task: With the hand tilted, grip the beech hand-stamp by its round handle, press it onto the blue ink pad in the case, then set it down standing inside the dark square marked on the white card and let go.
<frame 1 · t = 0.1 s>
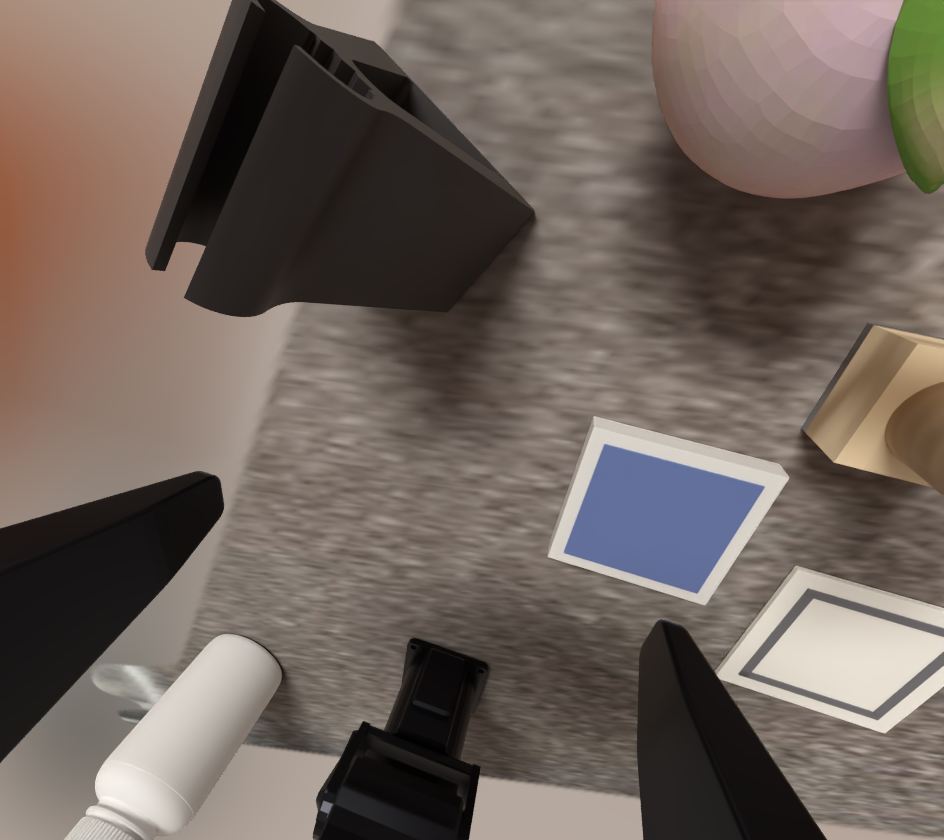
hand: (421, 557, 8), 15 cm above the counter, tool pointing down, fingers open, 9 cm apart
stamp: (895, 393, 18), on the counter
decorative fruit: (763, 61, 15), on the counter
phone stand: (419, 192, 19), on the counter
ink pad: (650, 508, 23), on the counter
card: (841, 652, 24), on the counter
pill bottle: (250, 656, 42), on the counter
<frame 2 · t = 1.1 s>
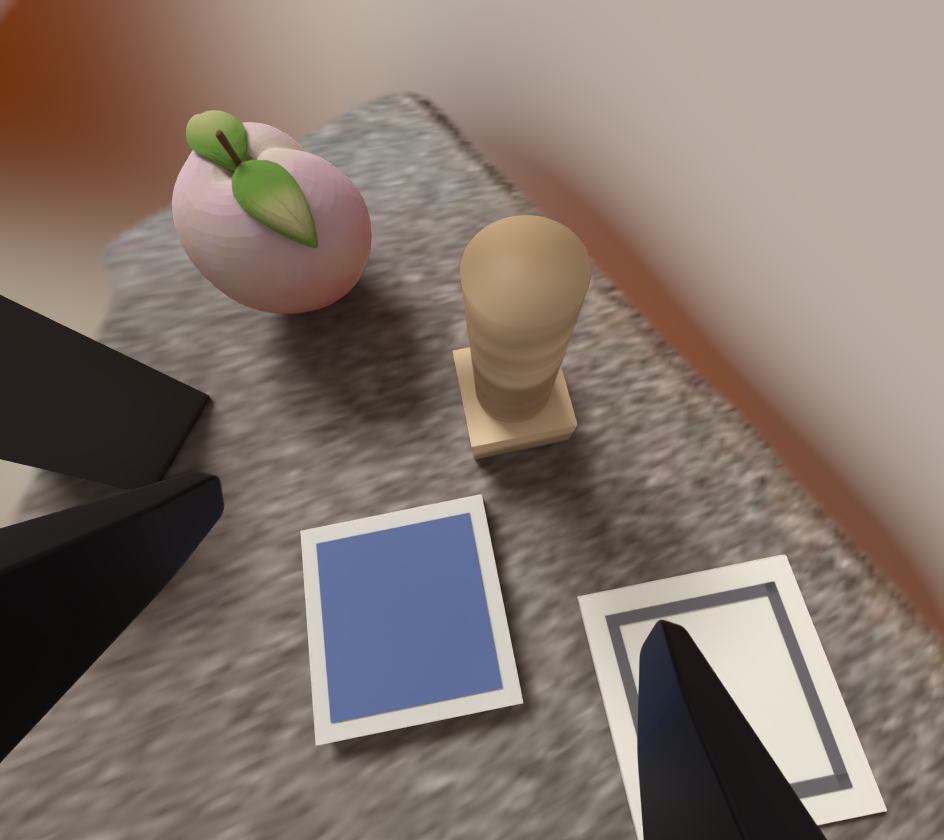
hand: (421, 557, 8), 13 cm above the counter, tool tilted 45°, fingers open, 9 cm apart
stamp: (510, 406, 23), on the counter
decorative fruit: (317, 289, 26), on the counter
phone stand: (122, 419, 24), on the counter
ink pad: (409, 607, 20), on the counter
card: (717, 693, 19), on the counter
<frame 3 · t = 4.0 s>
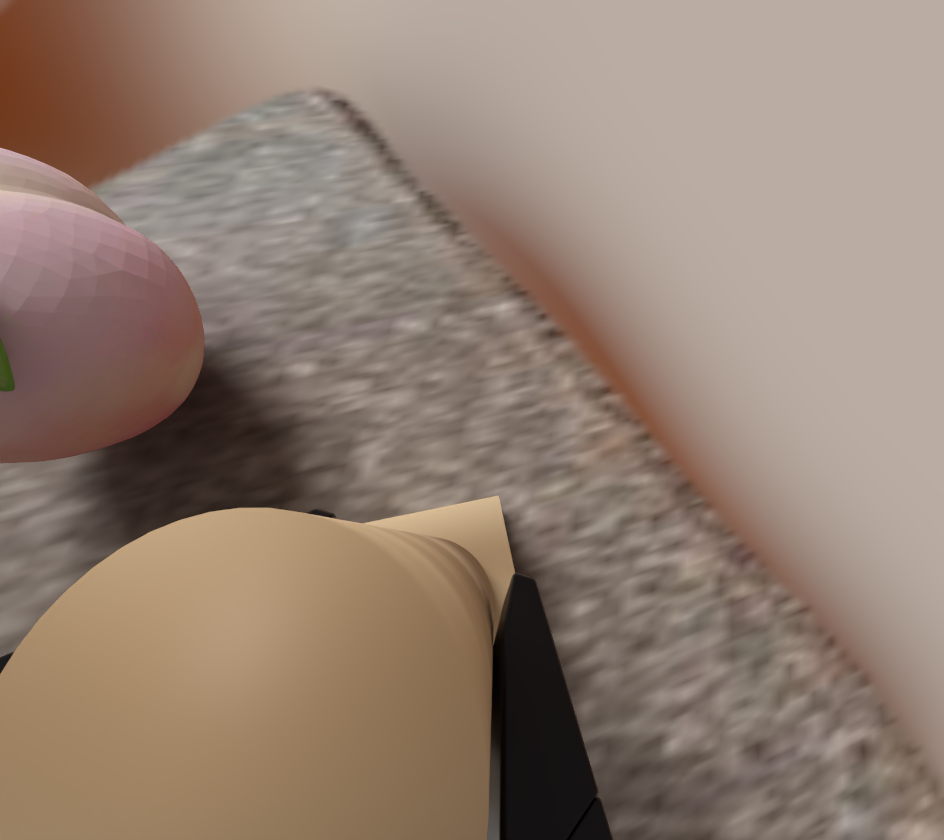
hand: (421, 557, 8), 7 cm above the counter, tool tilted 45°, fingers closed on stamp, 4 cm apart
stamp: (440, 594, 14), on the counter, touching gripper
decorative fruit: (159, 385, 17), on the counter
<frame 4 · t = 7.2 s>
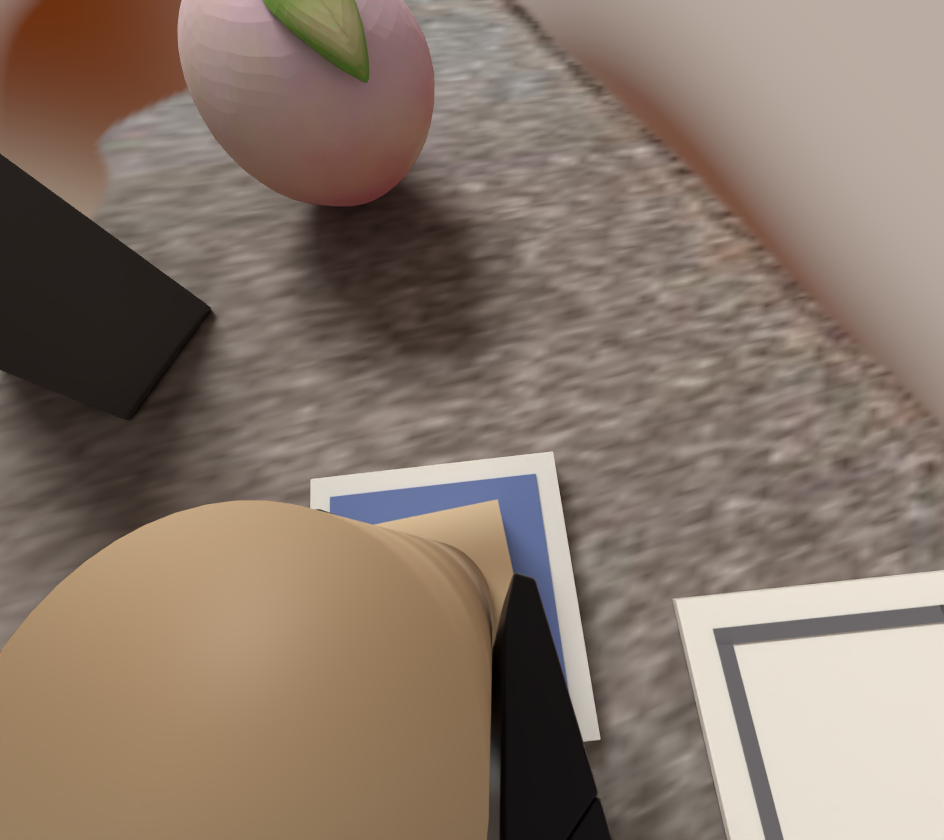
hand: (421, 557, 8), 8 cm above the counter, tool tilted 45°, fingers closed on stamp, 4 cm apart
stamp: (439, 600, 14), point 1 cm above the counter, touching gripper, ink pad
decorative fruit: (354, 194, 21), on the counter
phone stand: (104, 329, 20), on the counter
ink pad: (445, 593, 15), on the counter
card: (869, 752, 13), on the counter
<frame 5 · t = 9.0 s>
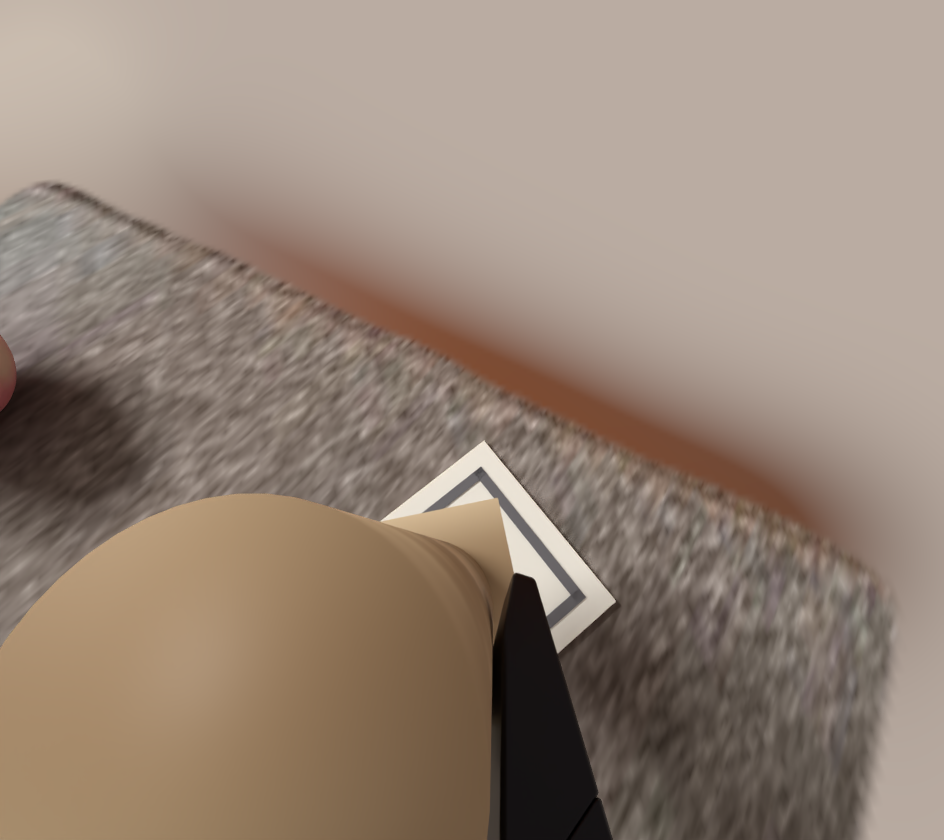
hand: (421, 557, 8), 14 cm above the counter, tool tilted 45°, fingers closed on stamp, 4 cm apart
stamp: (439, 598, 14), point 7 cm above the counter, touching gripper
decorative fruit: (1, 403, 25), on the counter
card: (468, 580, 21), on the counter
when the fingers open (8 cm above the counter, at t = 10.3 s): stamp stays where it is, resting on card.
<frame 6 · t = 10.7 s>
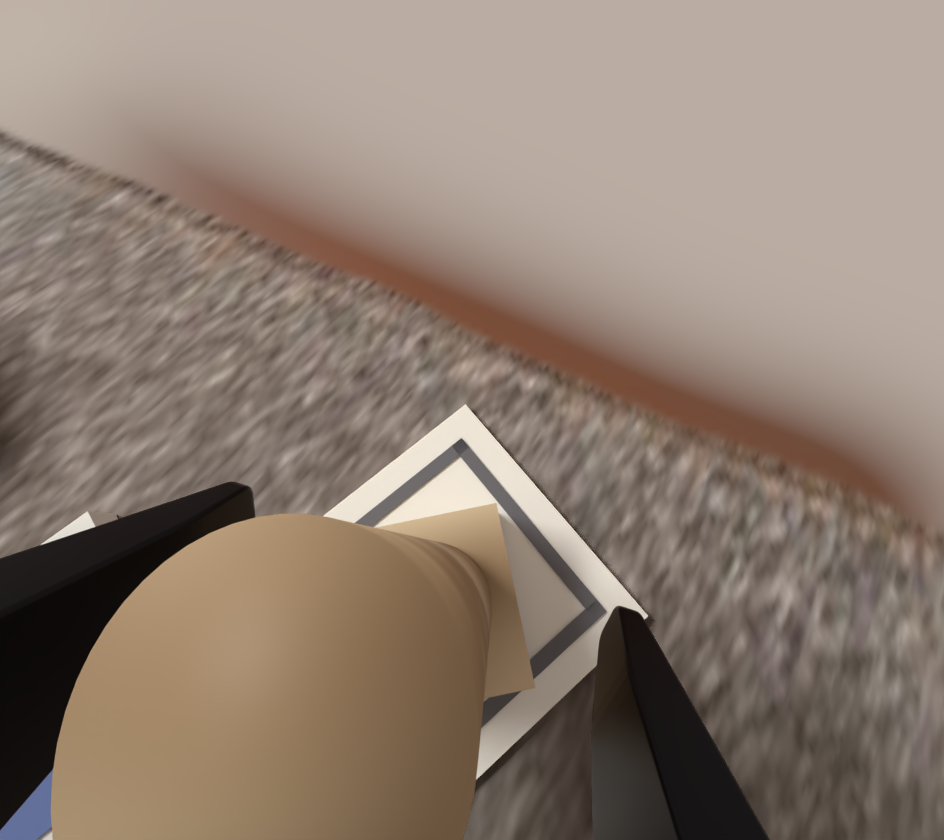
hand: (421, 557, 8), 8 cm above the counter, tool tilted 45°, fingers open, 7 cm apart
stamp: (442, 597, 15), resting on card
ink pad: (54, 695, 15), on the counter
card: (445, 591, 15), on the counter
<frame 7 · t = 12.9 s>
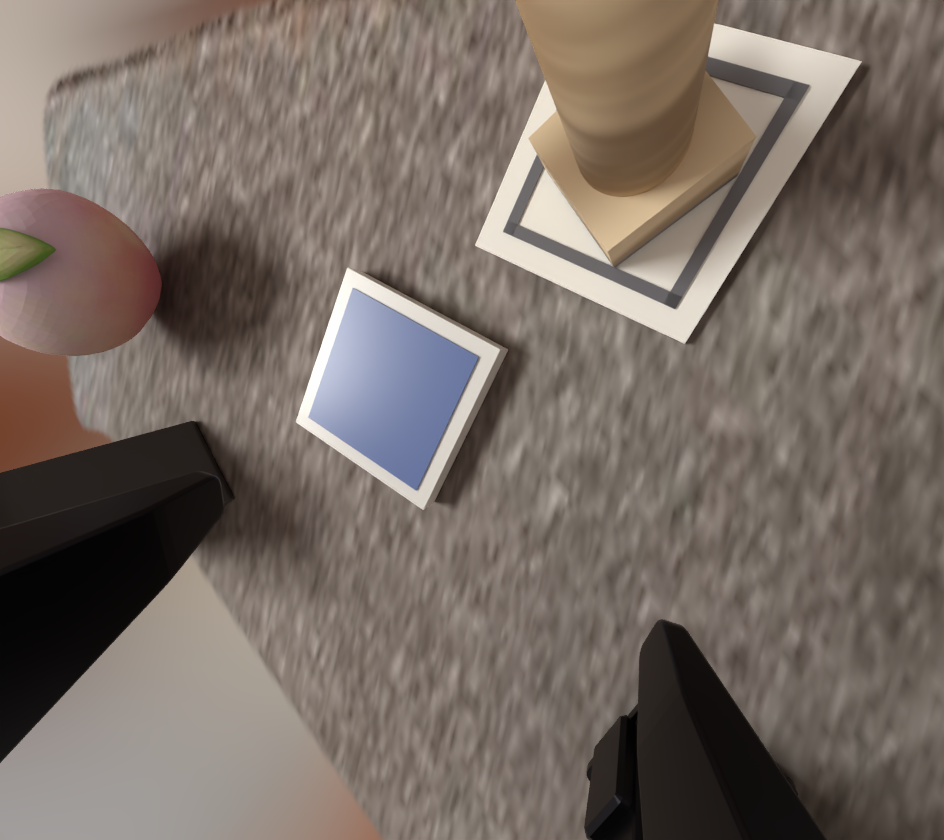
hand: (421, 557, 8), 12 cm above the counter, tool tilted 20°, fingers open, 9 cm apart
stamp: (635, 173, 16), resting on card
decorative fruit: (162, 292, 28), on the counter
phone stand: (185, 484, 31), on the counter
ink pad: (398, 388, 22), on the counter
card: (635, 172, 17), on the counter
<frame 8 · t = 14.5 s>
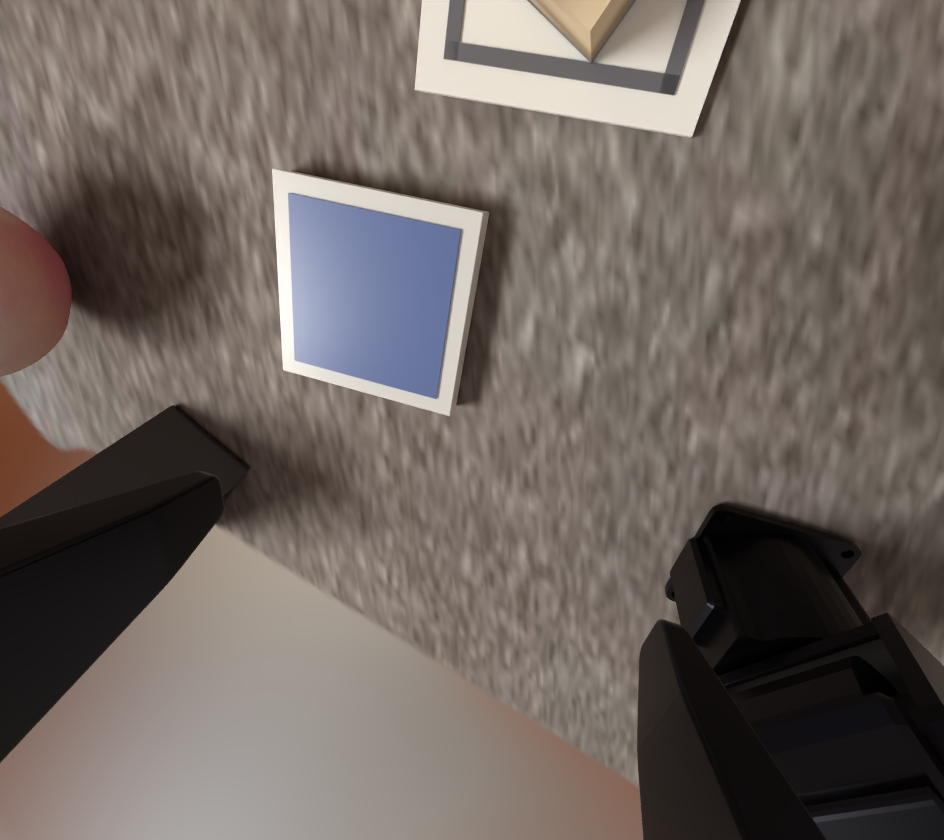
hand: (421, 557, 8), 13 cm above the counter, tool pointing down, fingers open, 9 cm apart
decorative fruit: (69, 274, 24), on the counter
phone stand: (193, 471, 29), on the counter
ink pad: (379, 297, 20), on the counter
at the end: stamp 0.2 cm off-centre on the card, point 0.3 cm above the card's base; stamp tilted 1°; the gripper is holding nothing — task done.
